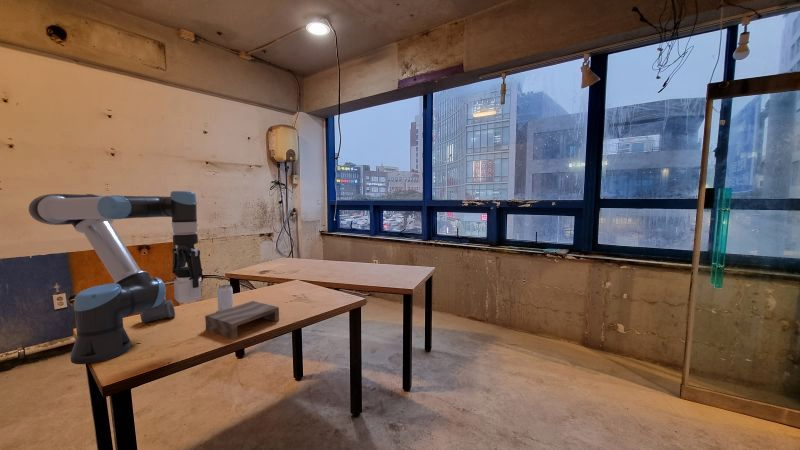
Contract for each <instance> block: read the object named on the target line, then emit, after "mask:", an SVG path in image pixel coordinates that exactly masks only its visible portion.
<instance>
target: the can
mask: <svg viewBox="0 0 800 450" xmlns="http://www.w3.org/2000/svg"><path fill="white" fill-rule="evenodd" d="M216 293H217V312H219V311H222V310H225V309H228V308H232V307H234V293H233V287H232V285H231V284H225V285H220V286H218V288H217V292H216Z"/></svg>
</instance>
